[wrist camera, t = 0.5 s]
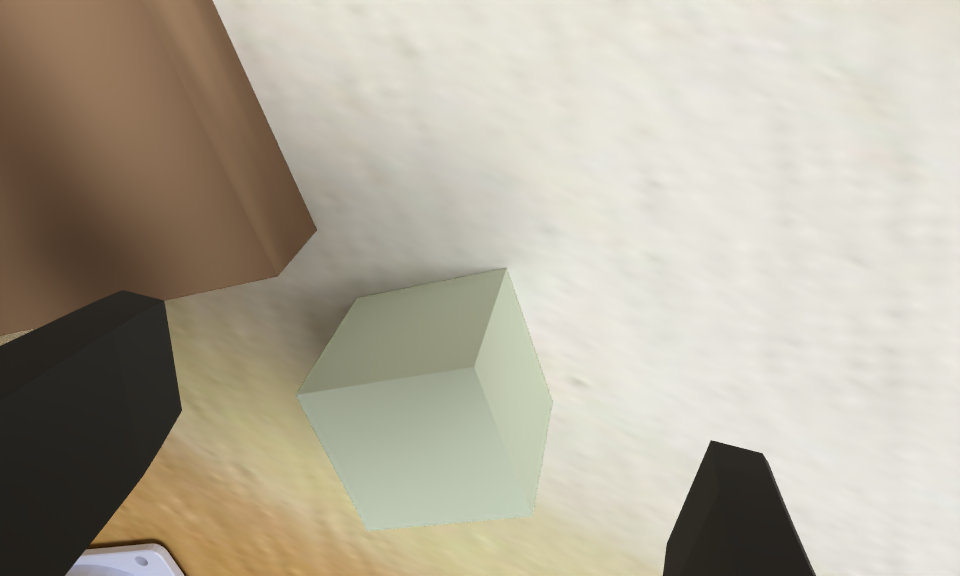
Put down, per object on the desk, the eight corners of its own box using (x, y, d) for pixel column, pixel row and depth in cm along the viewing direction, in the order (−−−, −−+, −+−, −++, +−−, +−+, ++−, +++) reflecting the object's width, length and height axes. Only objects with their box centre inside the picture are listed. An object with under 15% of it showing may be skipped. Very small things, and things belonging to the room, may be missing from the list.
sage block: (413, 418, 24) (367, 531, 20) (357, 296, 22) (295, 395, 18) (553, 399, 22) (533, 516, 18) (507, 266, 20) (473, 366, 17)
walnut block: (25, 293, 25) (-47, 345, 22) (-213, -66, 20) (-341, -52, 17) (322, 223, 21) (277, 276, 19) (118, -232, 16) (21, -244, 14)
